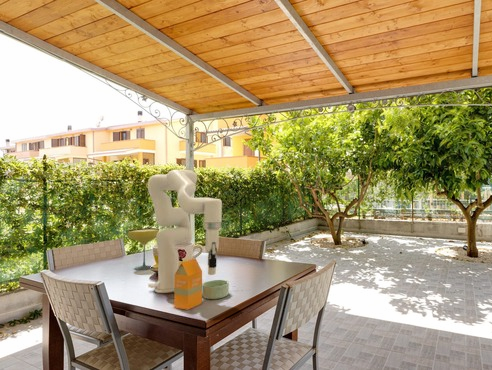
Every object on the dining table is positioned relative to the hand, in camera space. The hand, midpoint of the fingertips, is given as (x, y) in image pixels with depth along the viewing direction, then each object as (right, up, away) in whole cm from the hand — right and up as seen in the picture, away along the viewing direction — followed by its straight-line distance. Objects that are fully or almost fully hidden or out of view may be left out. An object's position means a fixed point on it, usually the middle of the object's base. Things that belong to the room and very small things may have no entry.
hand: (212, 265), depth 144 cm
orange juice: (-10, -17, -2) cm, 20 cm away
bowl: (-2, -17, +11) cm, 20 cm away
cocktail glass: (-67, -18, +64) cm, 94 cm away
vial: (0, -4, 0) cm, 4 cm away
